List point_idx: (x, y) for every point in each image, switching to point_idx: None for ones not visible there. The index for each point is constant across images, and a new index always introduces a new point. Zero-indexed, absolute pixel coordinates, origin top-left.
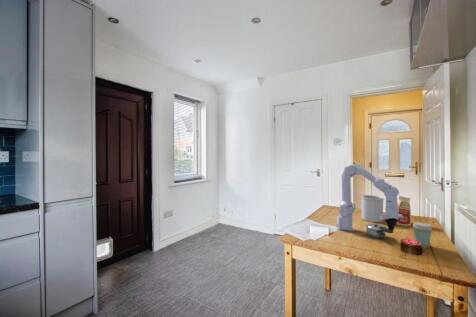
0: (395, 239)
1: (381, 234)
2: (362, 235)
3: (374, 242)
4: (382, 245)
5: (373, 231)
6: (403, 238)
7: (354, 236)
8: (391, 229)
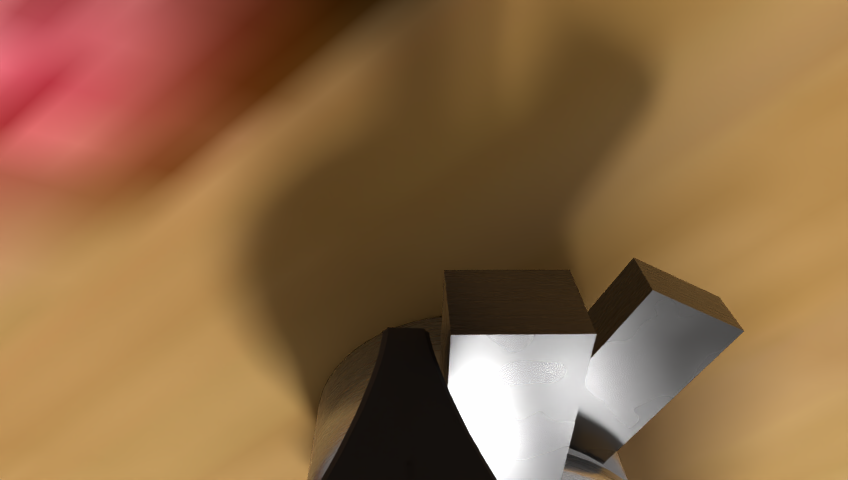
0: (259, 230)
1: (727, 319)
2: (634, 468)
3: (782, 242)
4: (820, 90)
5: (625, 475)
6: (43, 219)
7: (778, 469)
8: (453, 376)
